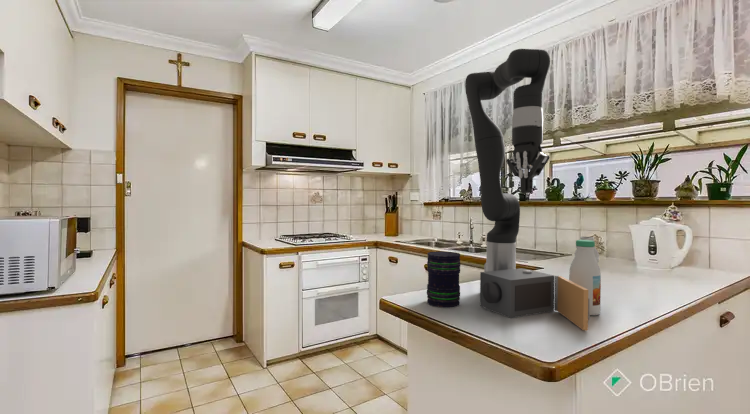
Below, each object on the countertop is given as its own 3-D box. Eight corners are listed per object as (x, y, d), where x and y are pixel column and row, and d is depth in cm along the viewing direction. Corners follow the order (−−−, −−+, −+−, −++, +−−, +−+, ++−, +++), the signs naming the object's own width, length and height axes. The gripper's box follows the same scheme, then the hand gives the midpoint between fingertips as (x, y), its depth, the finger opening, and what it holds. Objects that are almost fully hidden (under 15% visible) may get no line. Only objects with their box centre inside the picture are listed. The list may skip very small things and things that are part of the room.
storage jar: (445, 310, 107) (445, 257, 106) (419, 302, 114) (420, 253, 114) (467, 303, 113) (467, 254, 113) (441, 297, 120) (442, 250, 120)
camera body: (504, 319, 99) (505, 278, 98) (474, 307, 110) (474, 270, 109) (554, 311, 106) (555, 273, 106) (521, 300, 117) (521, 266, 117)
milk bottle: (583, 317, 101) (585, 242, 100) (562, 309, 108) (563, 239, 108) (607, 315, 103) (608, 241, 102) (584, 307, 110) (585, 238, 110)
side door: (590, 330, 89) (591, 289, 89) (580, 330, 89) (581, 289, 89) (562, 309, 106) (562, 275, 106) (553, 309, 106) (554, 275, 106)
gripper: (498, 129, 104) (497, 192, 104) (536, 120, 92) (535, 192, 92) (518, 131, 107) (518, 193, 107) (558, 123, 95) (557, 192, 95)
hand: (526, 192), depth 100 cm, fingers closed
